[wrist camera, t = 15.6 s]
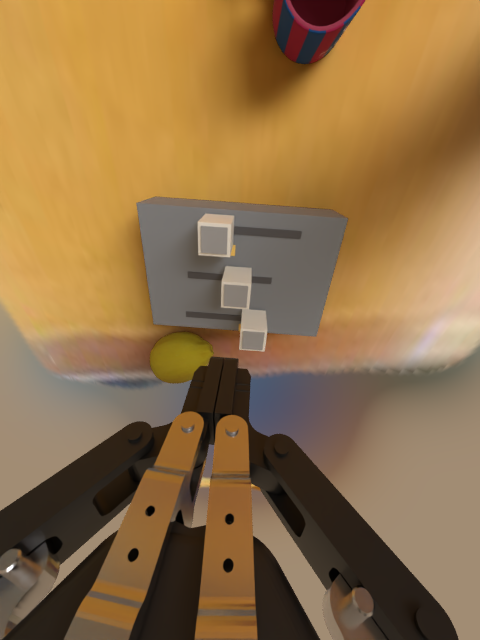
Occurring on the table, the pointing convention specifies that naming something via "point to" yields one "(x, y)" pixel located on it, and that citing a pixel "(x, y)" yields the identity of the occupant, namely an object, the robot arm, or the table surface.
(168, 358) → the lemon
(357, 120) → the table surface
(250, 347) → the slider far
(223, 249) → the slider near
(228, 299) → the slider mid
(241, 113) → the table surface
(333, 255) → the console
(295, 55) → the mug
